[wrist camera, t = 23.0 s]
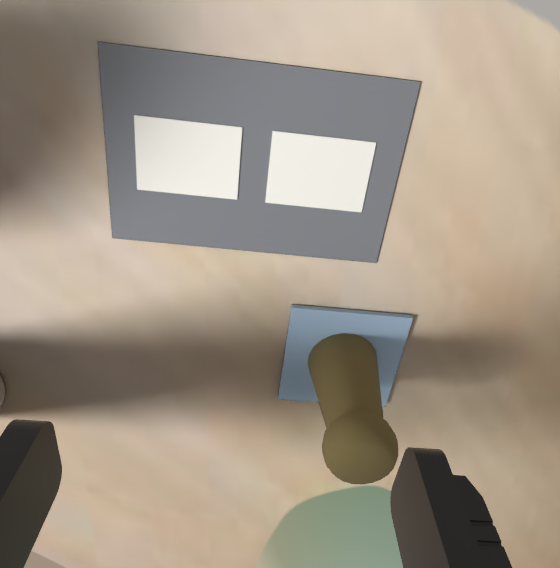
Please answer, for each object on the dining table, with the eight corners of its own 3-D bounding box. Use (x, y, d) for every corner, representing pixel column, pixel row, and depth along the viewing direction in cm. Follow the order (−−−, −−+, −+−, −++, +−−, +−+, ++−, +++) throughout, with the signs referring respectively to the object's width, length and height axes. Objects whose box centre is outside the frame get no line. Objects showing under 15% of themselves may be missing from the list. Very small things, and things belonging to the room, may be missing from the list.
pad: (278, 395, 43) (278, 399, 42) (291, 304, 38) (292, 307, 37) (384, 403, 44) (385, 407, 43) (411, 314, 39) (413, 318, 38)
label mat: (112, 237, 35) (111, 238, 34) (98, 41, 28) (97, 41, 28) (376, 262, 36) (376, 263, 36) (420, 81, 30) (421, 82, 29)
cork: (335, 321, 38) (355, 424, 29) (391, 352, 40) (429, 459, 30) (293, 369, 41) (300, 478, 31) (348, 396, 42) (371, 508, 33)
